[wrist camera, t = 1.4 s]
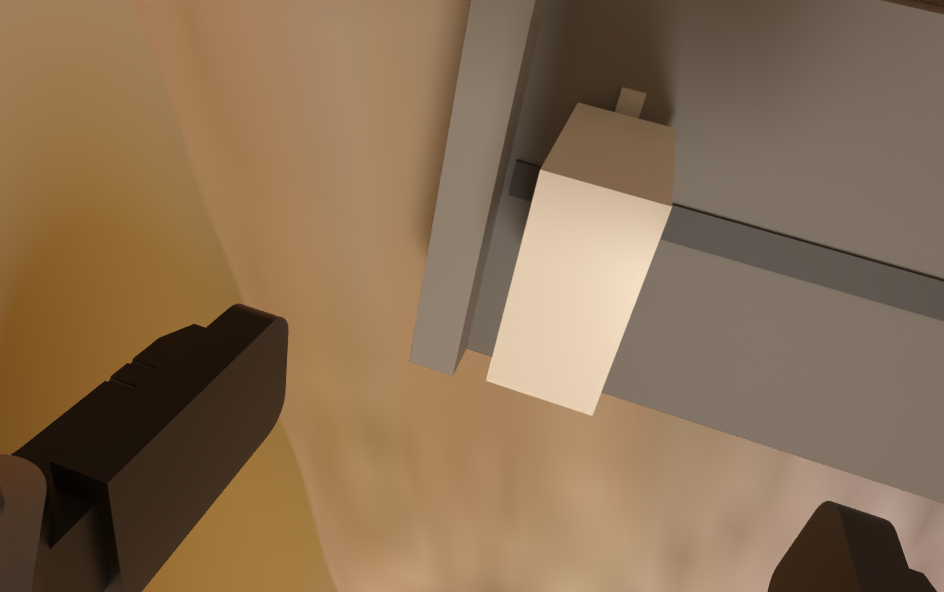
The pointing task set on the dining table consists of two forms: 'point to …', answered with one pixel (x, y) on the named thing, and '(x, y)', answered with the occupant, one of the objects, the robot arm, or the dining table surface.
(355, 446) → the dining table surface
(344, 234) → the dining table surface
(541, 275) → the fader tab
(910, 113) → the console
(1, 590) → the robot arm
